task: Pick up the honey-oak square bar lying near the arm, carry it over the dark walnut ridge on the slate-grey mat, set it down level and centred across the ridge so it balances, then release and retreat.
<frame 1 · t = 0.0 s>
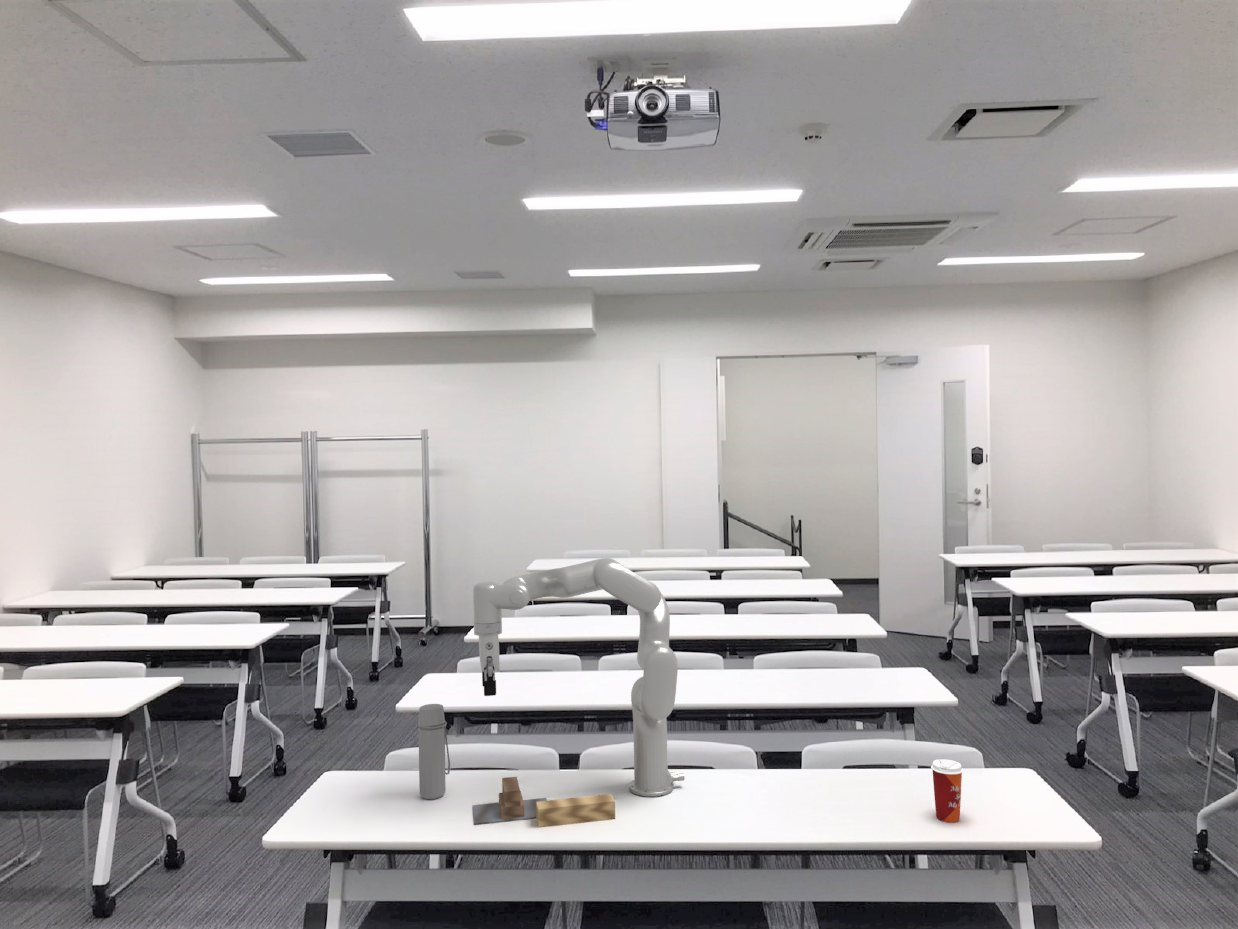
hand: (489, 690, 230), 31 cm above the table, fingers open, 9 cm apart
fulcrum: (511, 811, 225), on the table
water bottle: (435, 795, 238), on the table
paper cup: (947, 818, 216), on the table
oak bar: (575, 820, 219), on the table
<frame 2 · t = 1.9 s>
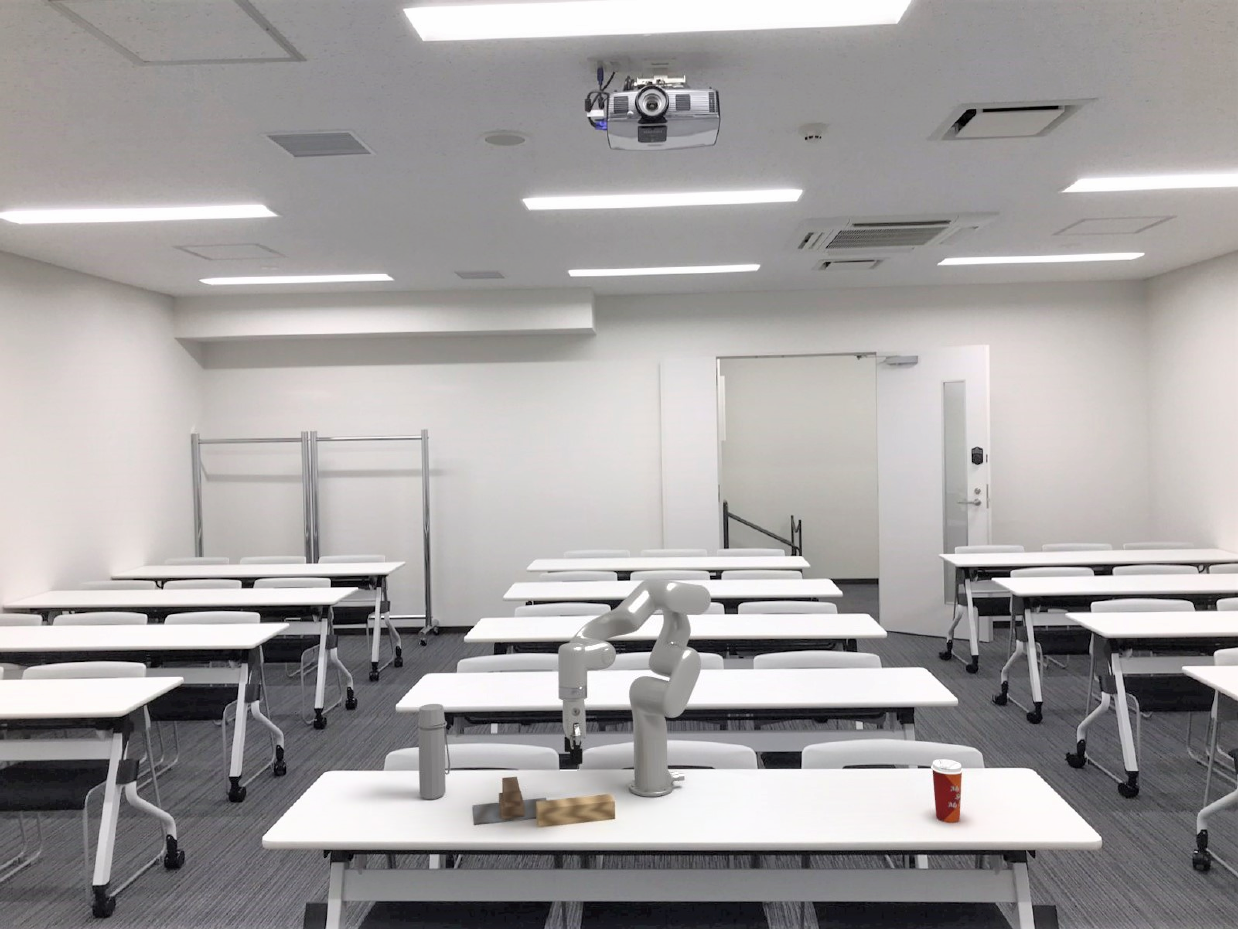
hand: (573, 757, 219), 16 cm above the table, fingers open, 9 cm apart
nothing on the table moved.
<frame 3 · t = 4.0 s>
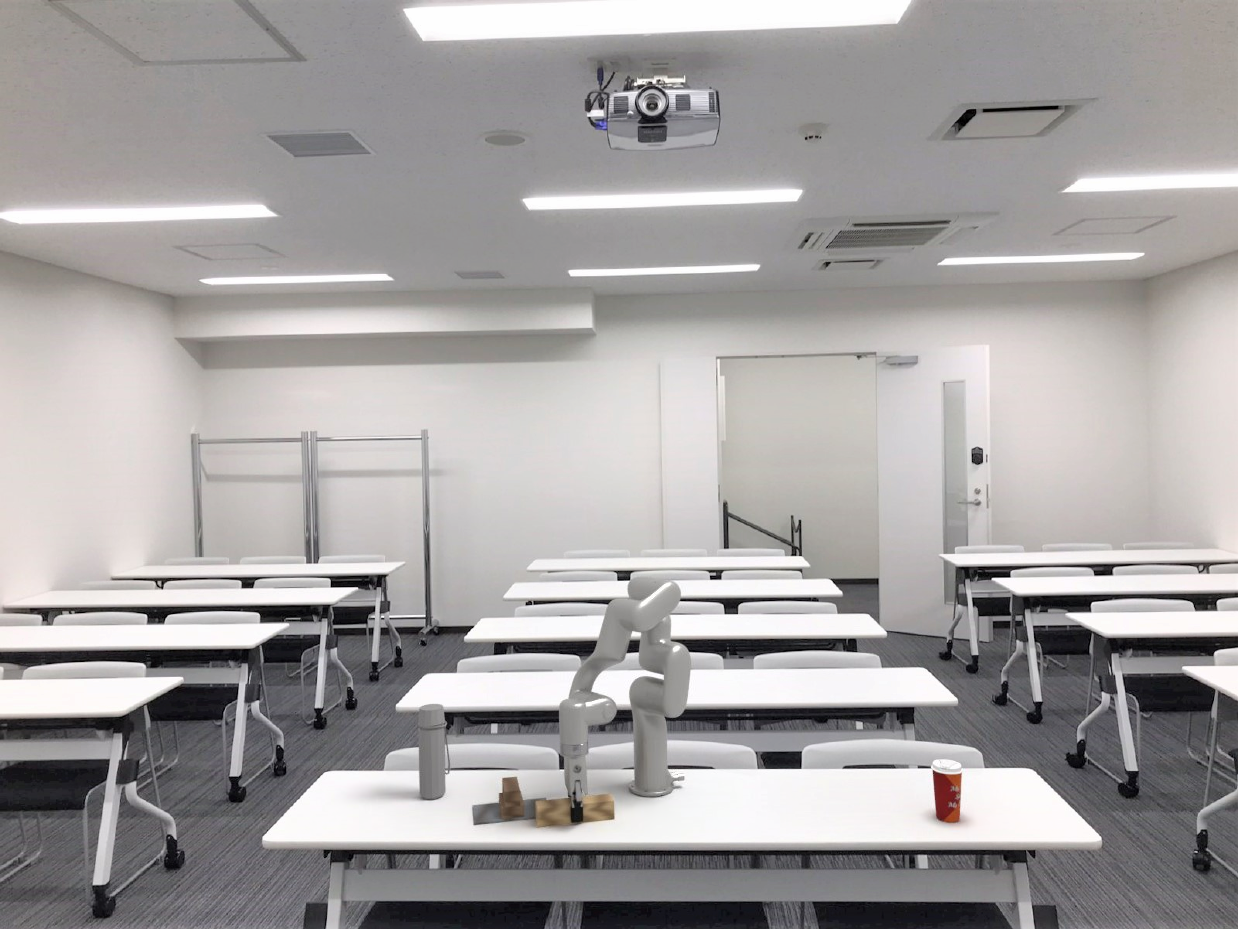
hand: (575, 816, 219), 1 cm above the table, fingers closed on oak bar, 5 cm apart
oak bar: (575, 820, 219), on the table, touching gripper
everything else where it was.
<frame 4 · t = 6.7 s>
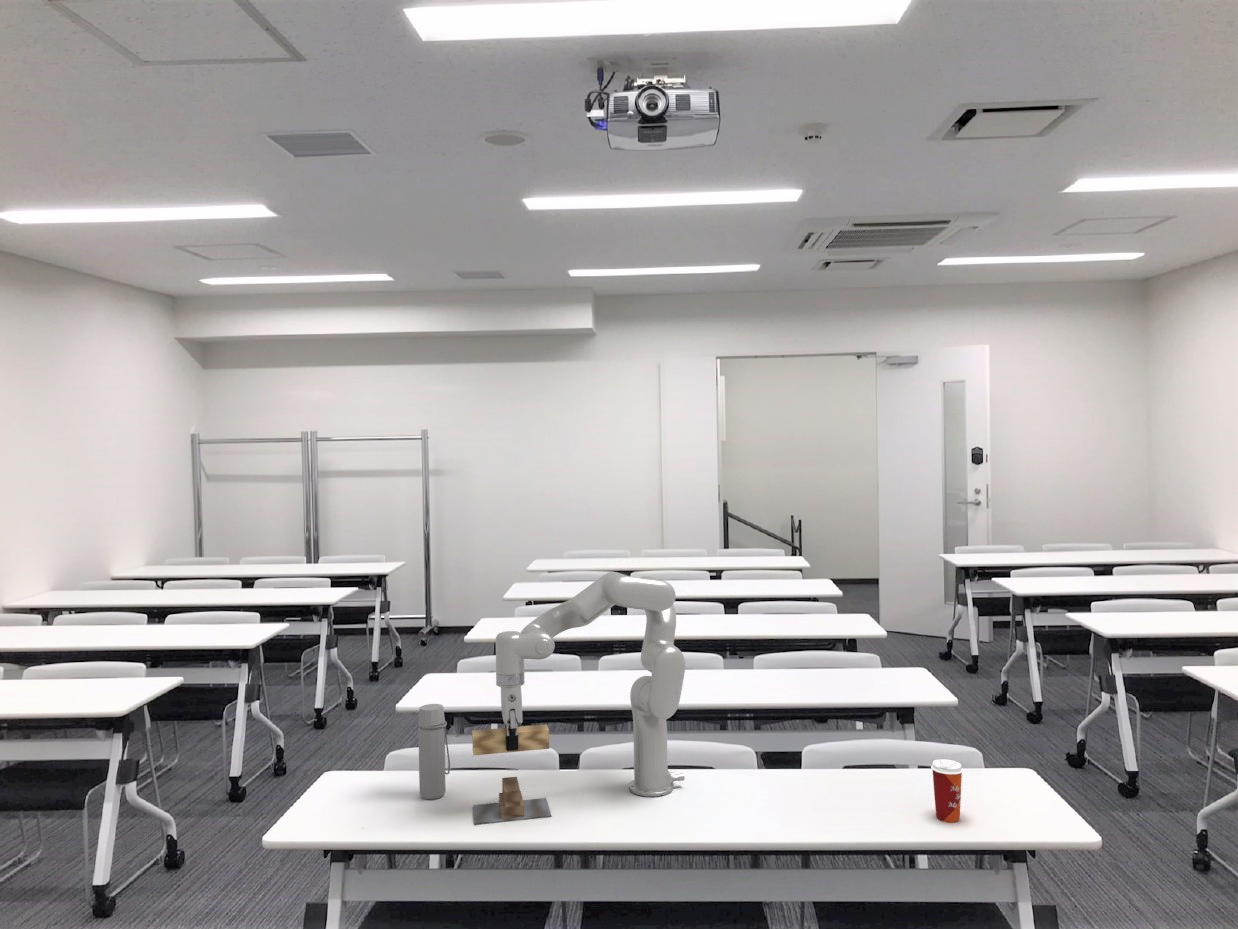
hand: (511, 746, 225), 18 cm above the table, fingers closed on oak bar, 5 cm apart
oak bar: (510, 749, 225), point 17 cm above the table, touching gripper
everything else where it was.
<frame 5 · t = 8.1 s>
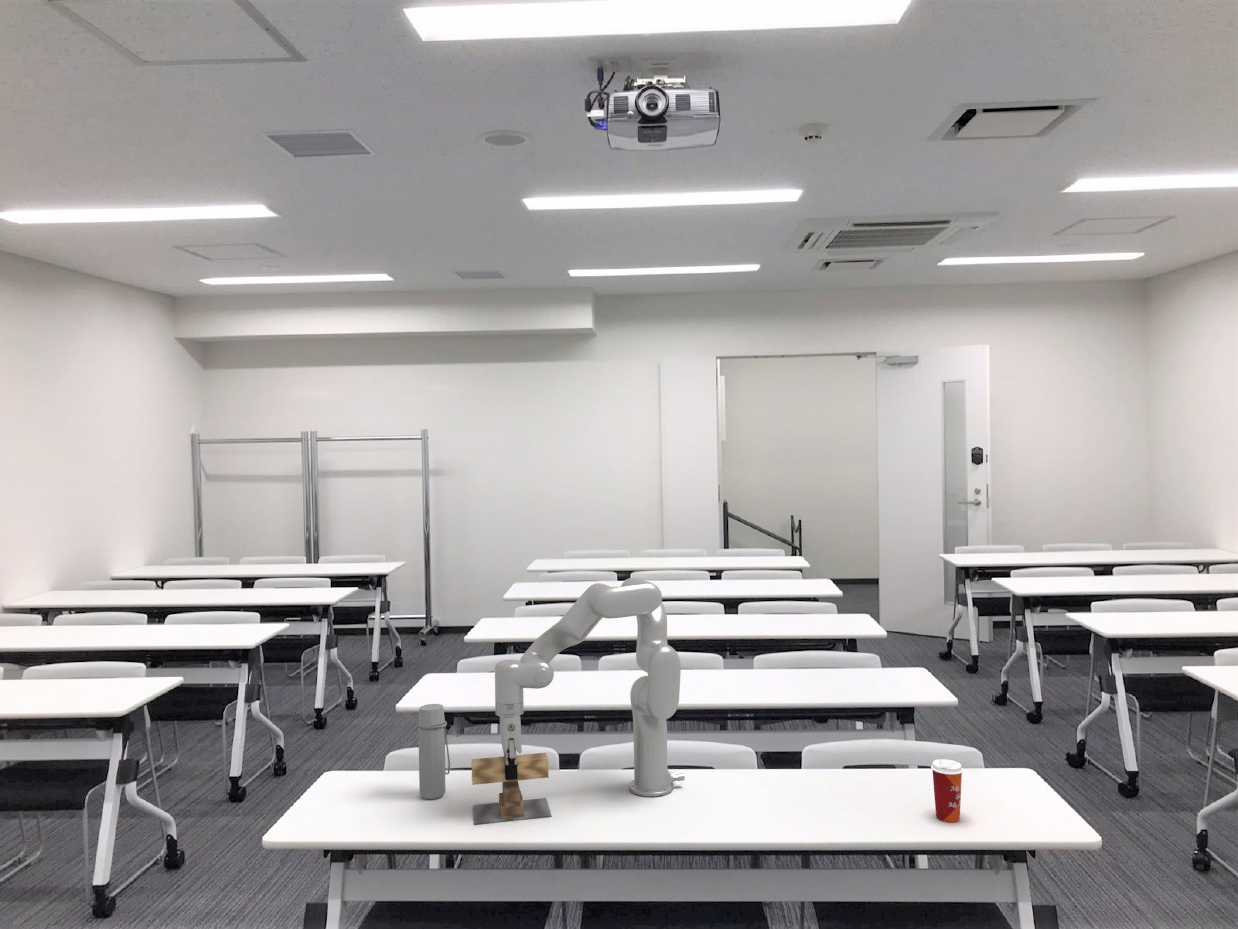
hand: (510, 774, 225), 10 cm above the table, fingers closed on oak bar, 5 cm apart
oak bar: (510, 777, 225), point 9 cm above the table, touching gripper
everything else where it was.
when the fingers open (9 cm above the table, at t = 9.0 s): oak bar stays where it is, resting on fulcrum.
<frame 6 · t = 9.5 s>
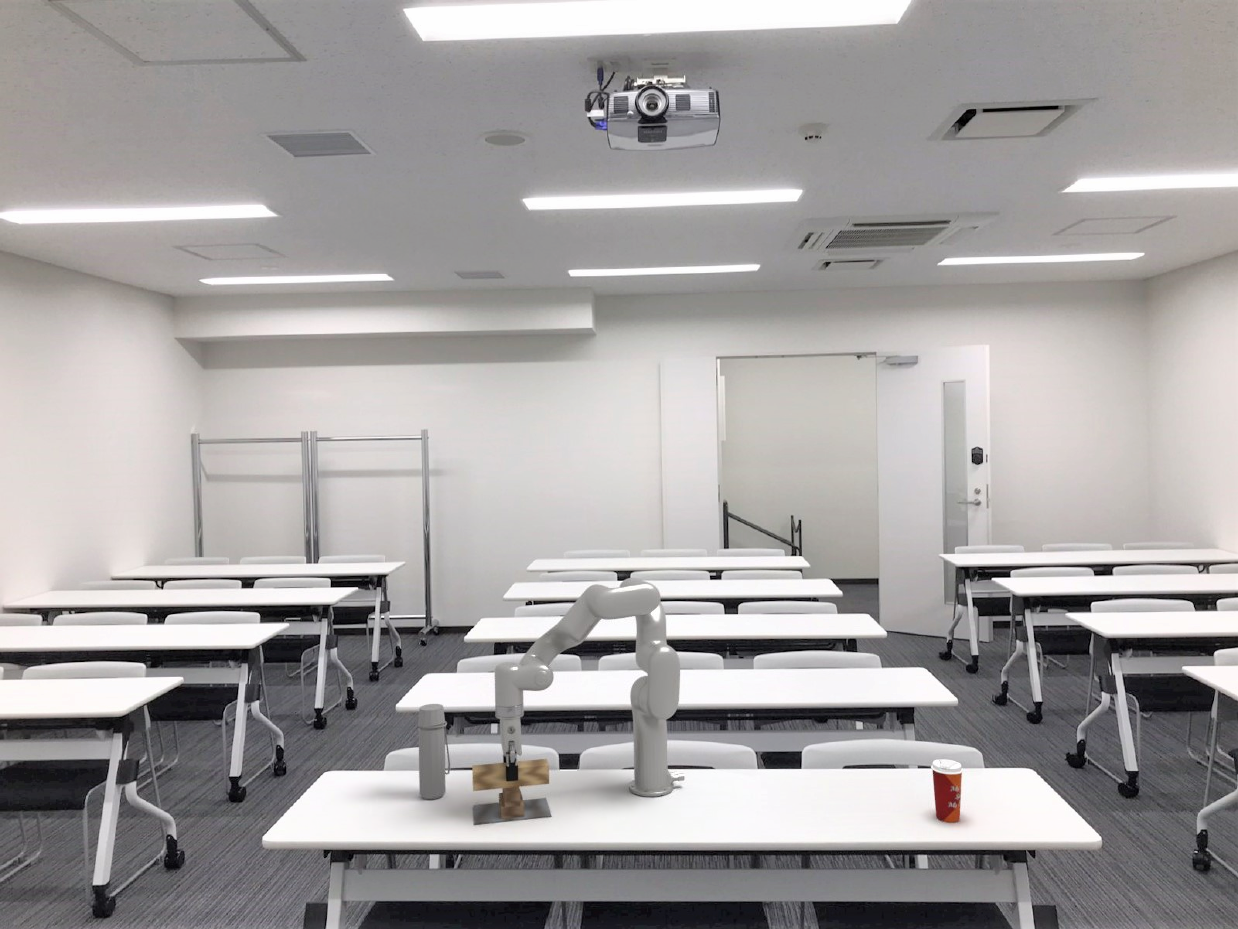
hand: (510, 774, 225), 10 cm above the table, fingers open, 9 cm apart
oak bar: (510, 784, 225), point 7 cm above the table, touching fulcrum
everything else where it was.
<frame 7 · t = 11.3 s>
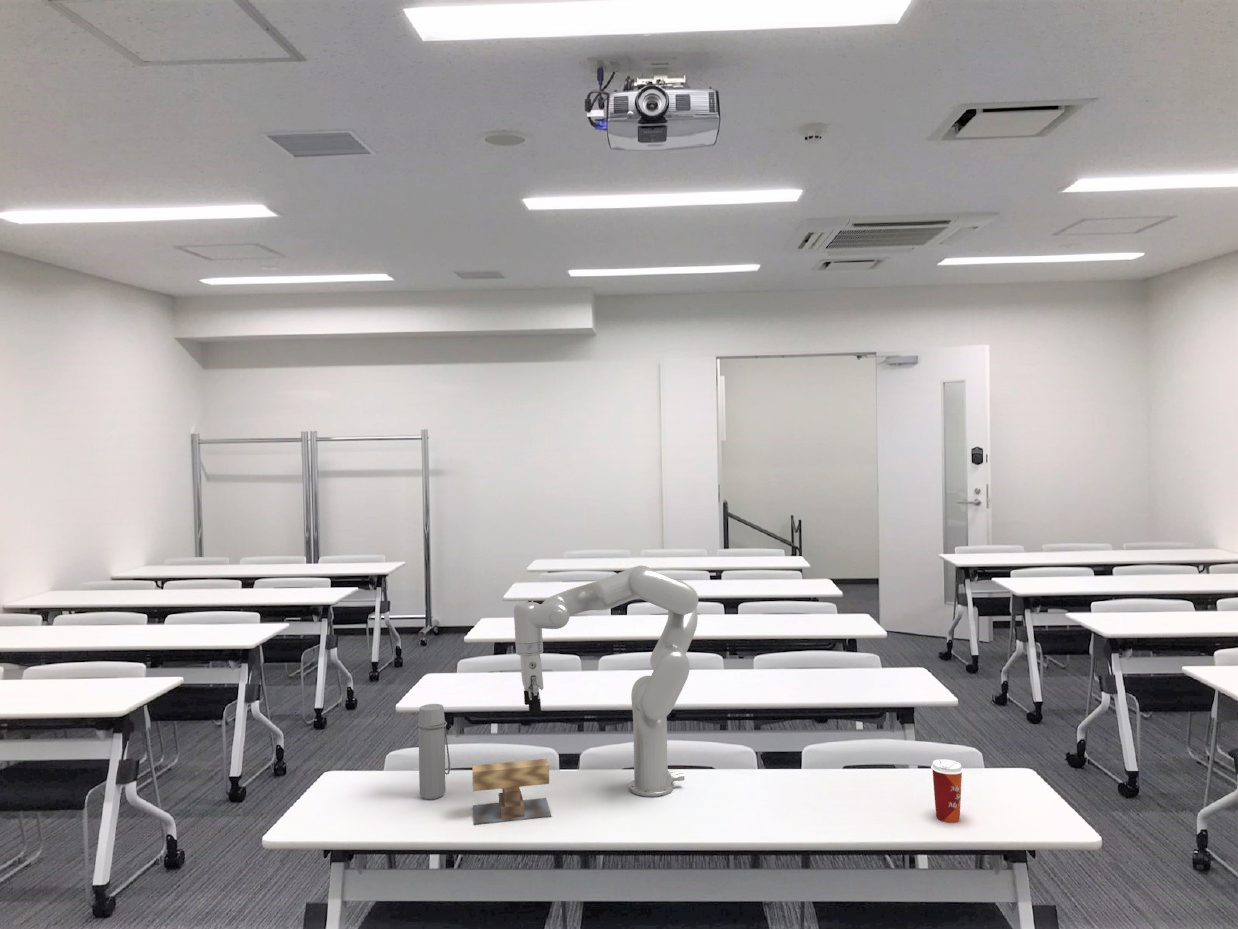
hand: (532, 708, 234), 25 cm above the table, fingers open, 9 cm apart
nothing on the table moved.
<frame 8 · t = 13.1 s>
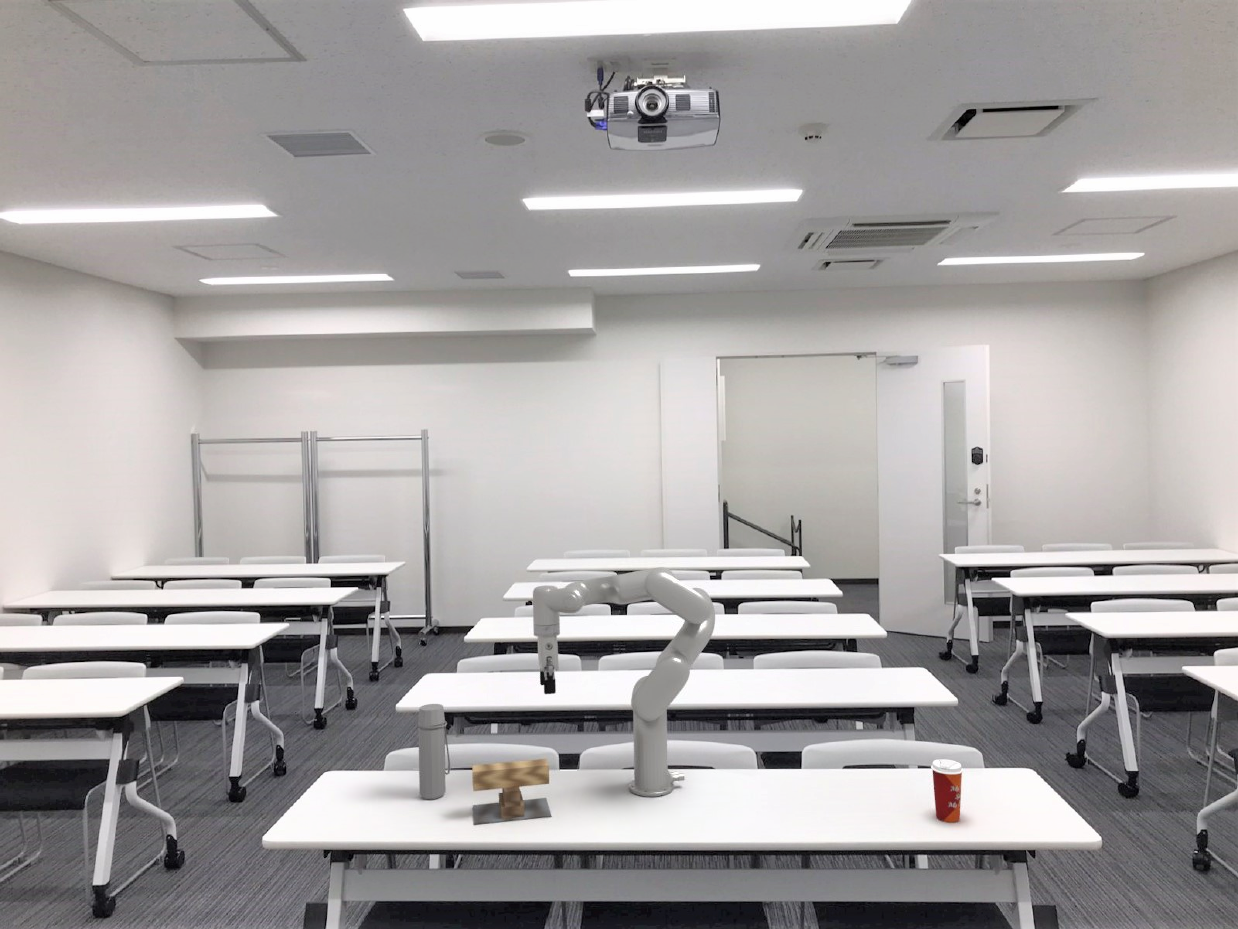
hand: (547, 689, 241), 28 cm above the table, fingers open, 9 cm apart
nothing on the table moved.
at the end: oak bar 0.0 cm off-centre on the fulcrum, point 7.4 cm above the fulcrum's base; oak bar tilted 0°; oak bar touching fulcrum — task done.
